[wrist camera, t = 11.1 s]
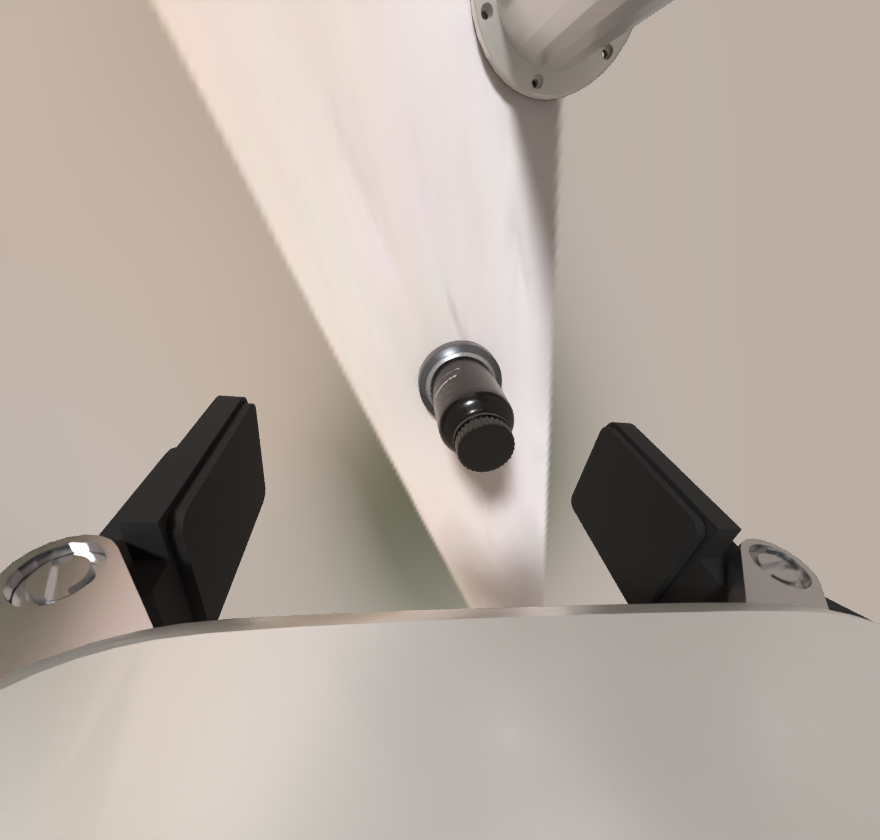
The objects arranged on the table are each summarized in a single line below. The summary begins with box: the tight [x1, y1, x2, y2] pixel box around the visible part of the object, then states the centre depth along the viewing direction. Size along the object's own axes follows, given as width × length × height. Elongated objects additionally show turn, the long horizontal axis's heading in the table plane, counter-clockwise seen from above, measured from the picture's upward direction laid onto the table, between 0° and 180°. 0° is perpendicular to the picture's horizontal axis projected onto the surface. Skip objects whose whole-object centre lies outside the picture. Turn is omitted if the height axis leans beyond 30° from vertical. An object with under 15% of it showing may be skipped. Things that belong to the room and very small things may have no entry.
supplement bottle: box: [430, 356, 515, 472], centre depth 35 cm, size 7×7×12 cm
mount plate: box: [418, 341, 502, 415], centre depth 41 cm, size 9×9×2 cm
